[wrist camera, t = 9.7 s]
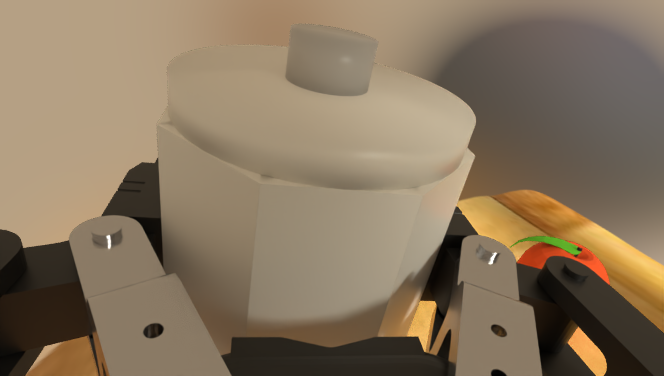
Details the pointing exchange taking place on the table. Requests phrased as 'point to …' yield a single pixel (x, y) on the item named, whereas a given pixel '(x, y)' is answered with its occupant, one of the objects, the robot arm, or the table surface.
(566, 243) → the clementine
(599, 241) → the table surface
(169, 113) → the white lidded jar
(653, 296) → the table surface
